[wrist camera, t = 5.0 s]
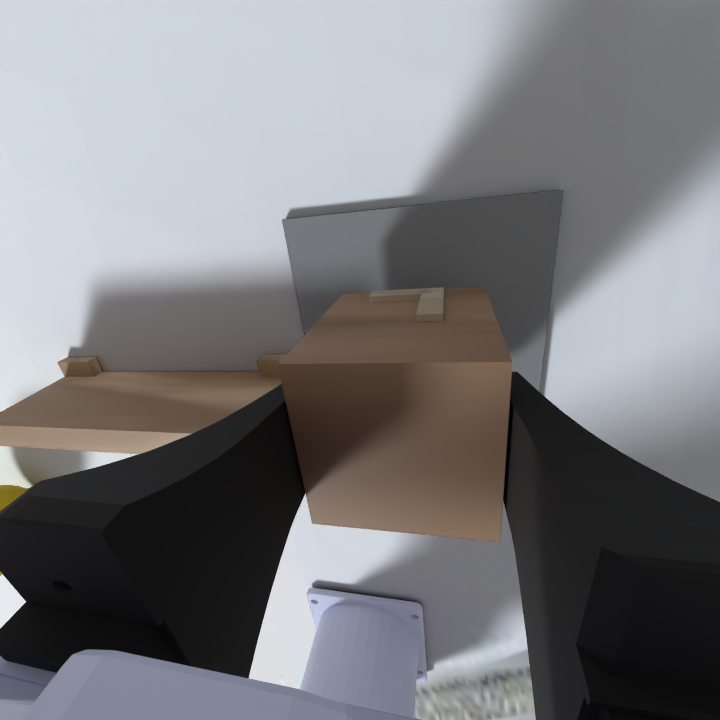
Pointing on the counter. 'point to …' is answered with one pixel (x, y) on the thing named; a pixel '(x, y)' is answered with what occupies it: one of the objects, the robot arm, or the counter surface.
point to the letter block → (403, 412)
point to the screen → (130, 406)
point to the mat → (438, 260)
